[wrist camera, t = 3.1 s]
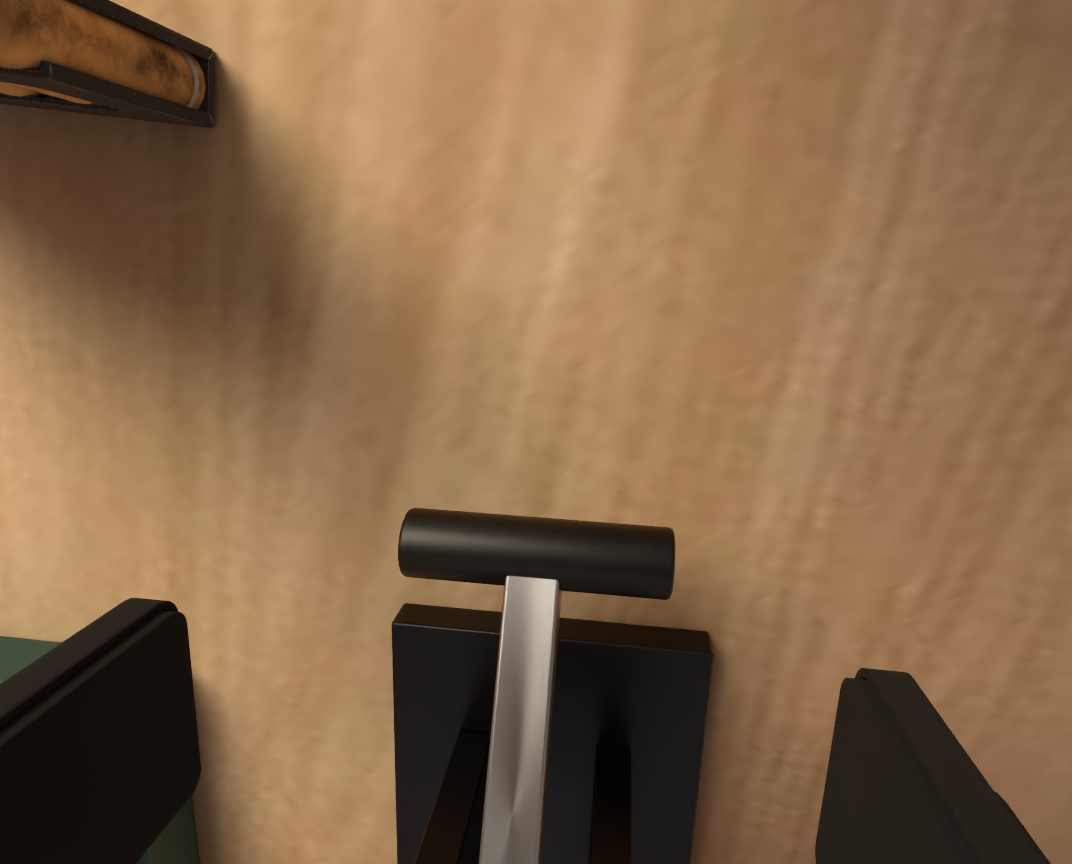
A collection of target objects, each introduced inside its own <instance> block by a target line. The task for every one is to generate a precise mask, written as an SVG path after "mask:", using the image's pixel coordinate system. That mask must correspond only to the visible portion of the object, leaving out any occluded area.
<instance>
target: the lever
mask: <svg viewBox="0 0 1072 864" xmlns="http://www.w3.org/2000/svg"><path fill="white" fill-rule="evenodd" d="M398 560H399V567H400V571H401V573H402V574H403V575H404V576H406V577H414V578H426V579H437V580H448V581H459V582H471V583H482V584H493V585H504V596H503V607H502V617H501V628H500V639H499V650H498V661H497V671H496V682H495V693H494V704H493V715H492V725H491V736H490V747H489V758H488V769H487V779H486V790H485V801H484V812H483V823H482V833H481V844H480V855H479V864H541V860H542V847H543V834H544V820H545V807H546V794H547V780H548V767H549V754H550V740H551V727H552V714H553V700H554V687H555V674H556V661H557V647H558V634H559V621H560V607H561V594H562V591H572V592H583V593H594V594H606V595H617V596H628V597H640V598H651V599H662V600H667V599H669V598H670V596H671V594H672V589H673V582H674V571H675V536H674V532H673V529H671V528H668V527H655V526H642V525H629V524H617V523H604V522H591V521H578V520H565V519H552V518H539V517H526V516H513V515H500V514H487V513H474V512H461V511H448V510H435V509H422V508H413V509H410V510H409V511H408V512H407V514H406V516H405V518H404V521H403V523H402V527H401V531H400V536H399V544H398Z"/></svg>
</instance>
